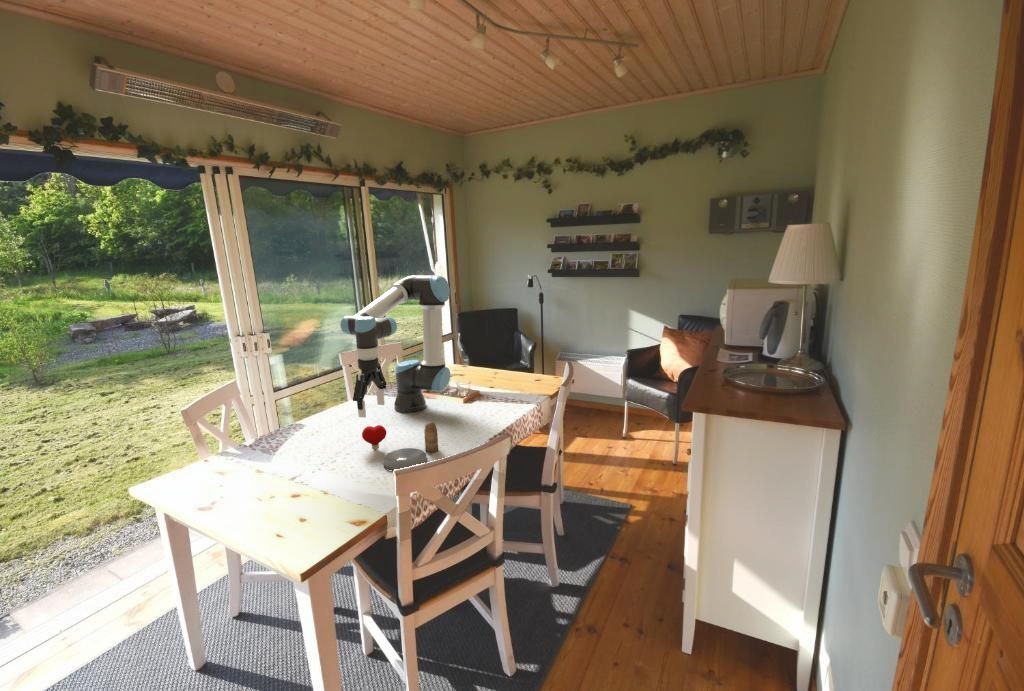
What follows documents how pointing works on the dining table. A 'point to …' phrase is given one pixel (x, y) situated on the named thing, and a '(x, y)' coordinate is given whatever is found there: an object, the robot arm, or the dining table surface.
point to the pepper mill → (431, 438)
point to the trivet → (404, 458)
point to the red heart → (374, 435)
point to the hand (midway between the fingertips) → (372, 410)
